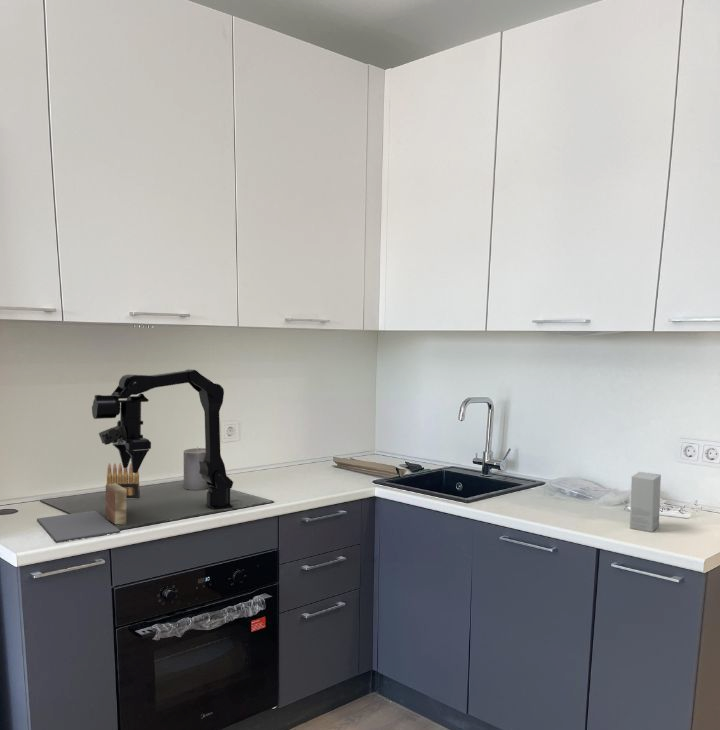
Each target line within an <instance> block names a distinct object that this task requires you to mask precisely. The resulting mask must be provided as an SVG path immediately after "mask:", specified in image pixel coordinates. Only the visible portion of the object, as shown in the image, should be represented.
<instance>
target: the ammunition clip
mask: <svg viewBox="0 0 720 730" xmlns="http://www.w3.org/2000/svg"><path fill="white" fill-rule="evenodd" d="M117 468H118V469H117ZM106 473H107V474H106V484H115V483H116V484H118V485H120V486H121V487H123V488H125V489H126V498H139V497H141V496H140V495H141V493H140V474H139V471H138V472H137V473H133V470H132V463H129V468H128V467H127V468H123V465H122V462H119V464H118V467H117V464H116V463H115V462H114V463H113V466H112V465H111V463H108V465H107V472H106ZM139 499H140V498H139Z"/></svg>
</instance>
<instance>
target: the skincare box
mask: <svg viewBox="0 0 720 730" xmlns="http://www.w3.org/2000/svg"><path fill="white" fill-rule="evenodd" d="M661 478H662V475H661V474H660V473H659V474H658V473H650V472H643V471H638V472H637V473H635V474H633V475H632V476H631V484H630V485H631V486H630V489H631V490H630V513H629V515H630V516H629V529H631V530H636V531H642V532H647V533H654V531H656V530H657V529H658V528H659V527H660V506H661V505H660V502H661V483H662V482H661V480H662V479H661Z"/></svg>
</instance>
